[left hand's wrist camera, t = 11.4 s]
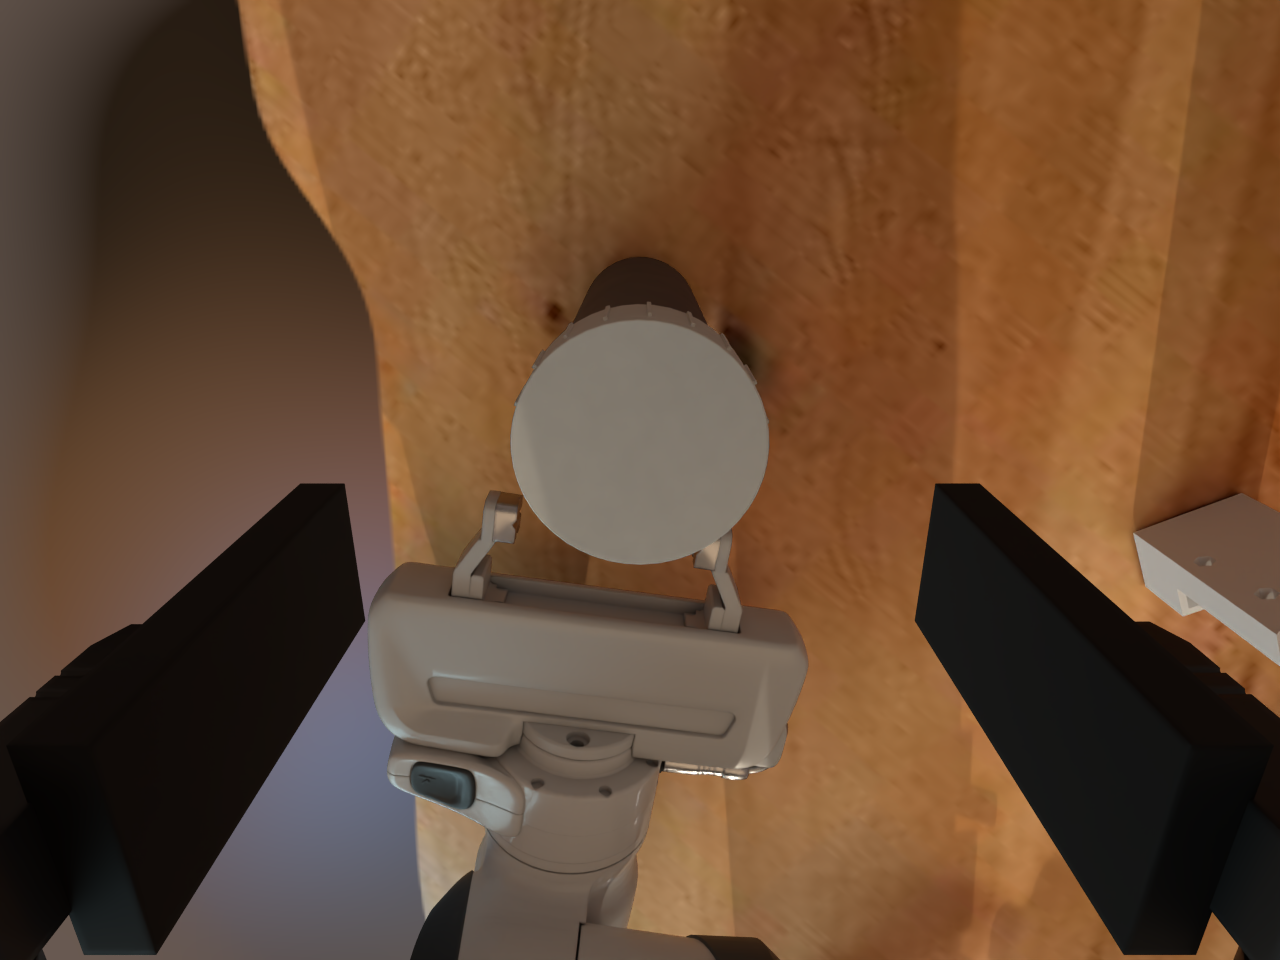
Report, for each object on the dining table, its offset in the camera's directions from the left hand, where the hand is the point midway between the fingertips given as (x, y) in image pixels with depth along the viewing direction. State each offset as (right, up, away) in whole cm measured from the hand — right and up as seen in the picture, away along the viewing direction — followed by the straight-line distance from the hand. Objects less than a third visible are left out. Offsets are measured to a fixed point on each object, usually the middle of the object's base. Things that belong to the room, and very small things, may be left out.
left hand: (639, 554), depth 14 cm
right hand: (-1, 0, +20) cm, 20 cm away
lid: (0, +2, +6) cm, 6 cm away
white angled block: (+30, -2, +29) cm, 42 cm away
